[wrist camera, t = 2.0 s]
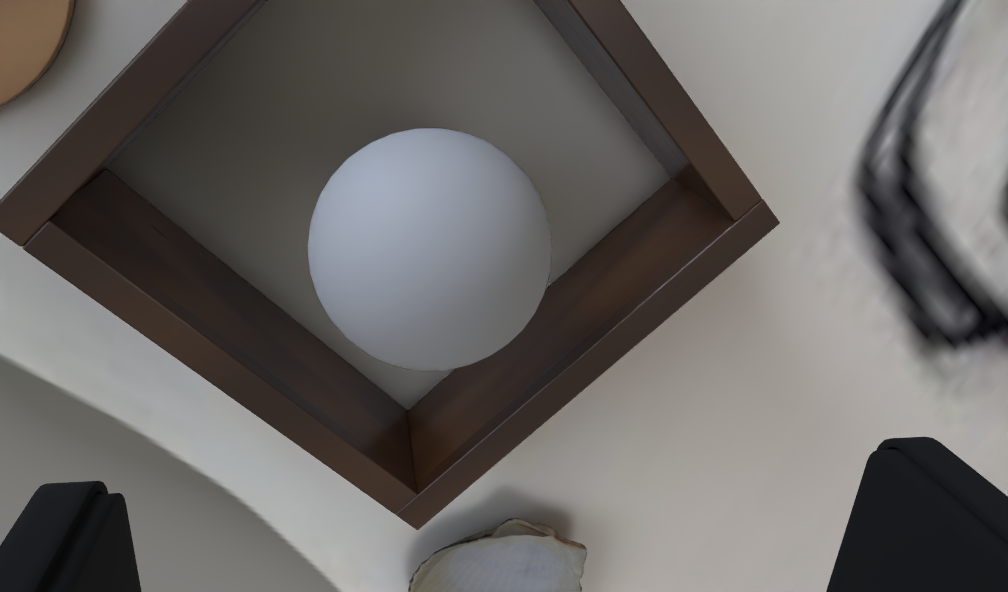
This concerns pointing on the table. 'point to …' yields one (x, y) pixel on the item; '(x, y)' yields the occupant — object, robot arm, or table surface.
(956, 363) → the table surface
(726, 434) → the table surface
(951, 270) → the table surface
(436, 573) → the seashell
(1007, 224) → the table surface
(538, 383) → the wooden frame
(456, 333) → the lightbulb
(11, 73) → the coaster
